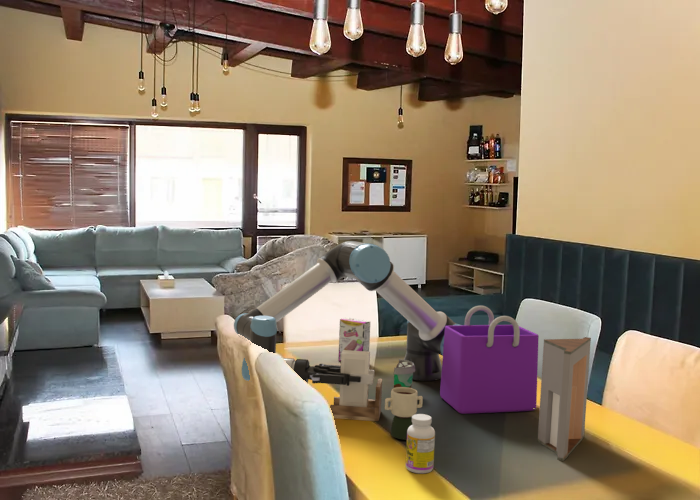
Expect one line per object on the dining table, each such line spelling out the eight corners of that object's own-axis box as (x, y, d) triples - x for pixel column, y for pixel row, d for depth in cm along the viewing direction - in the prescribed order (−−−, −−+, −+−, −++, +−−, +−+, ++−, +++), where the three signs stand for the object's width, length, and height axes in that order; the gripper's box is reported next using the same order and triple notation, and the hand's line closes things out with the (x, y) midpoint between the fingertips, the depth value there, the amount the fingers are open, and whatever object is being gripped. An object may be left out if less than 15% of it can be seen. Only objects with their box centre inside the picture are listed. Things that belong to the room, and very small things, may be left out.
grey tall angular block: (563, 461, 176) (570, 351, 173) (526, 452, 181) (532, 346, 178) (584, 437, 193) (590, 337, 191) (549, 429, 199) (555, 332, 196)
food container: (412, 400, 221) (413, 369, 220) (392, 398, 222) (394, 367, 221) (416, 389, 233) (417, 360, 232) (397, 387, 234) (399, 358, 233)
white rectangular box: (367, 404, 207) (370, 351, 205) (366, 409, 203) (368, 355, 201) (341, 402, 208) (343, 349, 206) (339, 407, 204) (341, 353, 202)
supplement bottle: (403, 463, 171) (405, 412, 169) (430, 463, 171) (432, 412, 170) (407, 474, 164) (410, 421, 163) (435, 474, 165) (438, 421, 163)
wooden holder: (380, 411, 209) (382, 378, 208) (378, 421, 200) (380, 387, 199) (334, 408, 211) (335, 375, 210) (329, 417, 202) (330, 383, 201)
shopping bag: (501, 390, 235) (506, 302, 233) (545, 410, 216) (551, 314, 213) (430, 398, 224) (434, 306, 221) (469, 420, 204) (474, 319, 201)
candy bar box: (337, 361, 267) (339, 318, 265) (344, 358, 271) (346, 317, 269) (362, 366, 261) (364, 322, 259) (369, 363, 265) (371, 320, 263)
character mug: (415, 431, 193) (417, 385, 192) (426, 440, 186) (428, 393, 185) (378, 434, 190) (380, 387, 188) (388, 444, 183) (390, 395, 182)
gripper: (299, 376, 215) (375, 381, 213) (288, 392, 198) (370, 398, 196) (300, 352, 215) (376, 357, 212) (289, 366, 198) (371, 372, 195)
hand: (373, 377), depth 204 cm, fingers closed on white rectangular box, 4 cm apart
